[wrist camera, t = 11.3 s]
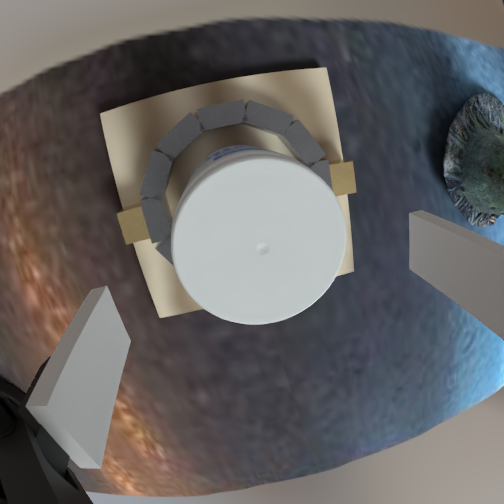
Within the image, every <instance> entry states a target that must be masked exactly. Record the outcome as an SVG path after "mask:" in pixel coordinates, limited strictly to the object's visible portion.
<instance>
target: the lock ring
mask: <svg viewBox="0 0 504 504" xmlns="http://www.w3.org/2000/svg"><path fill="white" fill-rule="evenodd" d="M196 111H197V115H198V119H197V118H196V117H195V116H194V115H193V114H192V113H191V112H190V113H189V114H188V115H186V116H185V117H184V118H183V119H182V120H181V121H180V122H179V123H178V124H177V125H175V126H174V127H173V128H172V129H171V130H170V131H169V132H168V133H167V134H166V135H165V136H164V137H163V138H162V139H161V140H160V141H159V142H158V143H157V144H156V146H157V147H158V148H159V149H160V150H157V149H156V150H152V152H151V155H150V159H149V162H148V166H147V169H146V173H145V176H144V180H143V184H142V188H141V192H140V195H142V196H145V197H143V198H142V199H141V200H140V203H137V204H134V205H130V206H127V207H123V208H122V209H121V210H120V211H119V212H118V213H117V216H118V220H119V223H120V226H121V230H122V233H123V236H124V239H125V242H126V245H127V244H131V243H135V242H138V241H142V240H146V239H151V242H152V243H156V242H158V243H157V245H156V248H155V249H156V250H157V251H158V252H159V253H160V254H161V255H162V256H163V257H165V258H166V259H167V260H168V261H169V262H170V263H171V264H172V265H173V261H172V254H171V229H172V222H173V219H172V215H171V212H170V208H169V204H168V200H167V196H166V190H167V187H168V183H169V180H170V176H171V173H172V170H173V166H174V163H175V160H176V157H177V156H178V155H179V154H180V153H182V152H183V151H184V150H185V149H186V148H187V147H188V146H189V145H190V144H191V143H192V142H193V141H194V140H196V139H197V138H198V137H199V136H200V135H201V134H202V133H203V132H205V131H210V130H214V129H219V128H223V127H228V126H233V125H238V124H244V125H247V126H250V127H253V128H256V129H259V130H261V131H264V132H267V133H270V134H273V135H276V136H277V137H278V138H279V139H280V140H281V141H282V142H283V144H284V145H285V146H286V147H287V148H288V150H289V151H290V152H291V153H292V154H293V156H294V157H295V158H296V159H297V160H298V161H299V162H301V163H302V164H304V165H305V166H307V167H308V168H310V169H311V170H312V171H313V172H314V173H316V174H317V175H318V176H319V177H321V178H322V179H323V180H324V181H325V182H326V184H327V185H328V186H329V187H330V188H331V190H332V191H333V192H334V194H335V196H340V195H345V194H351V193H356V185H355V176H354V168H353V161H349V160H343V159H340V160H334V161H329V160H328V159H323V158H322V157H324V156H325V155H326V153H325V152H324V151H323V150H322V148H321V147H320V146H319V144H318V143H317V142H316V141H315V139H314V138H313V137H312V135H311V134H310V133H309V132H308V131H307V129H306V128H305V127H304V126H303V124H302V123H301V122H300V121H299V119H298V120H293V121H292V119H293V115H290V114H287V113H285V112H282V111H280V110H277V109H274V108H271V107H269V106H266V105H263V104H260V103H257V102H254V101H252V100H249V101H248V102H247V103H246V105H244V100H237V101H232V102H227V103H222V104H217V105H212V106H207V107H203V108H198V109H196ZM173 266H174V265H173Z"/></svg>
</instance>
